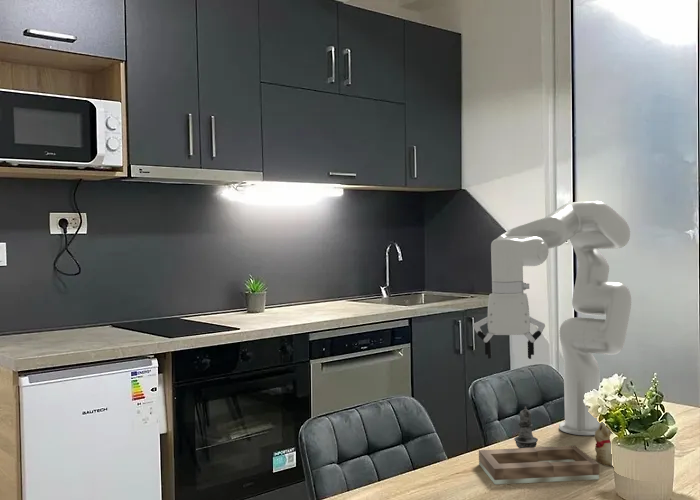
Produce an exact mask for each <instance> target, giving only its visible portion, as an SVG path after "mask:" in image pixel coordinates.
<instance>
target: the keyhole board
mask: <svg viewBox="0 0 700 500" xmlns="http://www.w3.org/2000/svg"><path fill="white" fill-rule="evenodd" d="M478 464H479V466H480V467H481V469H482V470H483V472H484V473H485V474H486V475H487V477H488V478H489V479H490V480H491V482H492V483H493V484H494V485H510V484H511V485H513V484H528V483H529V484H531V483H532V484H533V483H552V482H570V481H571V482H572V481H590V480H591V481H592V480H600V463H599V462H598V461H597V460H595V459H594V458H592V457H591V456H589V455H588V454H586V453H585V452H584V451H583V450H581V449H580V448H579V447H578V446H576V445H563V446H561V445H560V446H540V447H535V448H518V447H517V448H499V449H494V448H493V449H479V450H478Z"/></svg>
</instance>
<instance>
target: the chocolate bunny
mask: <svg viewBox="0 0 700 500" xmlns="http://www.w3.org/2000/svg"><path fill="white" fill-rule="evenodd" d="M611 433H612V432H611V429H610V430H609V429H608V428H607V427H606V426H605V424H604V423H603V422H601V423H600V426H599V429H598V430H597V431H595V435H594V440H595V447H594V451H595V452H596V456H595V459H596V460H595V461H596V462H597V463H598V464H601V465H603V466H608V467H613V466H612V454H611V444H612V441H611V438H610V436H611Z"/></svg>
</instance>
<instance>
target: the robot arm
mask: <svg viewBox="0 0 700 500" xmlns="http://www.w3.org/2000/svg"><path fill="white" fill-rule="evenodd" d="M630 237H631V229H630V227H629V224H628V222H627V221H626V219H624V218H623V217H622V216H621V215H620V214H619V213H618V212H617V211H616V210H615V209H614V208H613V207H611V206H610V205H608V204H606V203H605V202H603V201H599V200H594V201H592V200H591V201H590V200H589V201H574V202H573V201H572V202H568V203H565V204H563V205H561V206H560V207H559V208H556V209H555V210H554V211H552V212H550V213H549V214H548V215H546V216H545V217H543V218H540V219H536V220H534V221H533V220H532V221H530V222H527V223H524V224H521V225H518V226H515V227H513V228H511V229H508V230H506V232H504V233H502V234H500V235H499V236H498V237H497V238H495V239H494V240H492V241H491V244H490V252H491V256H490V258H491V260H490V261H491V289H492V290H491V292H492V293H489V295H488V299H487V300H488V302H487V316H486V317H484V318H482V319H480V320H478V321H476V322H474V323H473V324H472V327H473V329H474V331H475V333H476V334H477V336H478V337H479V338H480V339H481V340H482V341H483V342H484V354H485V355H484V356H487V359H489V360H490V359H491V358H492V341H491V339H492V337H493V336H494V335H495V336H525V337H526V339H527V340H528V341H527V359H529V360H532V356H534V355H535V345H534V344H535V341H536V340H537V339H538V338H540V336H541V335H542V333H543V331H544V329H545V327H546V324H545V323H544V322H542V321H541V320H538V319H536V318H534V317H532V316H530V307H529V299H528V295H527V293H525V292H524V291H526V290H529V289H530V283H526V282H525V281H524V269H523V268H524V267H538V266H540V265H542V264H544V263H545V261H546V260H547V259H548V256H549V249H552V248H557V247H560V246H562V245H563V244H565V243H566V242H567V241H570V243H571V246H572V248H573V251H574V253H575V255H576V259H577V263H578V264H577V265H578V266H577V267H578V268H577V273H576V278H575V284H574V288H573V292H572V293H573V294H572V298H571V299H572V300H571V305H572V308H573V310H574V311H575V312H576V313H579V314H583V315H589V316H600V317H601V316H603V317H605V318H604V319H602V318H593V317H581V316H579V317H577V316H576V317H569V318H566V319H565V320H564V321H563V322H562V323H561V325H560V327H559V341H560V345H561V350H562V357H563V387H564V388H563V389H564V390H563V392H564V393H563V394H564V396H563V397H564V401H563V402H564V421H561V422H560V423H558V427H559V430H560V431H562V432H564V433H565V434H571V435H574V436H575V435H576V436H595V431H597V430H598V429H599V426H600V423H599V422H598V421H597V418H594V417H593V416H592V415H591V414H590V413H589V412H588V408H587V407H586V406H585V405H584V403H583V398H584V394H585V393H587V392H589V391H590V390H592V389H598V388H599V385H601V384H600V366H599V363H598V361H597V359H596V357H595V356H594V354H599V355H609V356H613V355H618V354H619V353H621V351H622V350H623V349H624V345H625V342H626V338H627V337H626V336H627V331H628V326H629V321H630V317H631V316H630V315H631V308H632V296H631V295H632V294H631V292H630V290H629V287H628V286H626V285H625V284H623V283H621V282H615V281H609V280H608V279H609V274H610V273H609V272H610V266H609V263H608V261H607V258H606V257H605V256H604V255H603V254H602V252H601V251H600V249H602V250H603V249H608V250H609V249H610V250H611V249H612V250H614V249H622V248H623V247H625V246H626V245H627V244H628V243H629V241H630V239H631V238H630ZM486 324H487V331H488V332H487V333H484V332H483V331H482V329H481V327H482V326H485V325H486ZM531 324H533V325H535V326H537V329H536V331H534V332H533V334H532V333H531V332H530V331H531V329H530V328H531Z"/></svg>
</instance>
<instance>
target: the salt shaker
mask: <svg viewBox="0 0 700 500" xmlns="http://www.w3.org/2000/svg"><path fill="white" fill-rule="evenodd" d="M518 425H519V434H518V436H515V437H513V438H514V441H515V445H516V447H517V448H536V446H537V443H538V441H539V440H538V438H537V437H535V436H534V435H533V430H532V429H533V428H532V427H533V425H534V424H533V422H532V412H531V411H530V410H529V409H527V406H526V405H525V406H524V409H522V410H520V411H519V423H518Z"/></svg>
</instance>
